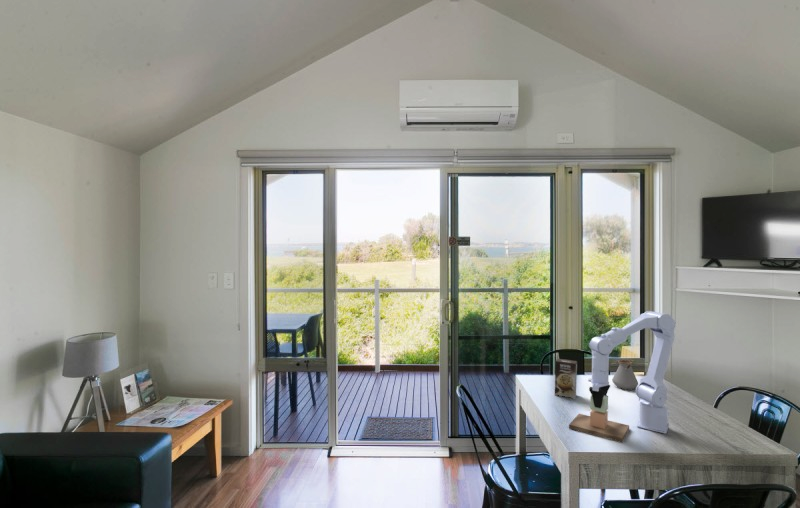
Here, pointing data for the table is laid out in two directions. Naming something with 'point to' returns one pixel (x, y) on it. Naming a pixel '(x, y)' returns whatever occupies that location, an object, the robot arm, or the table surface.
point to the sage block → (603, 407)
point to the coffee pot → (625, 376)
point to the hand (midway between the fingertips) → (599, 405)
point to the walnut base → (610, 432)
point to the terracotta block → (598, 419)
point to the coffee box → (565, 378)
